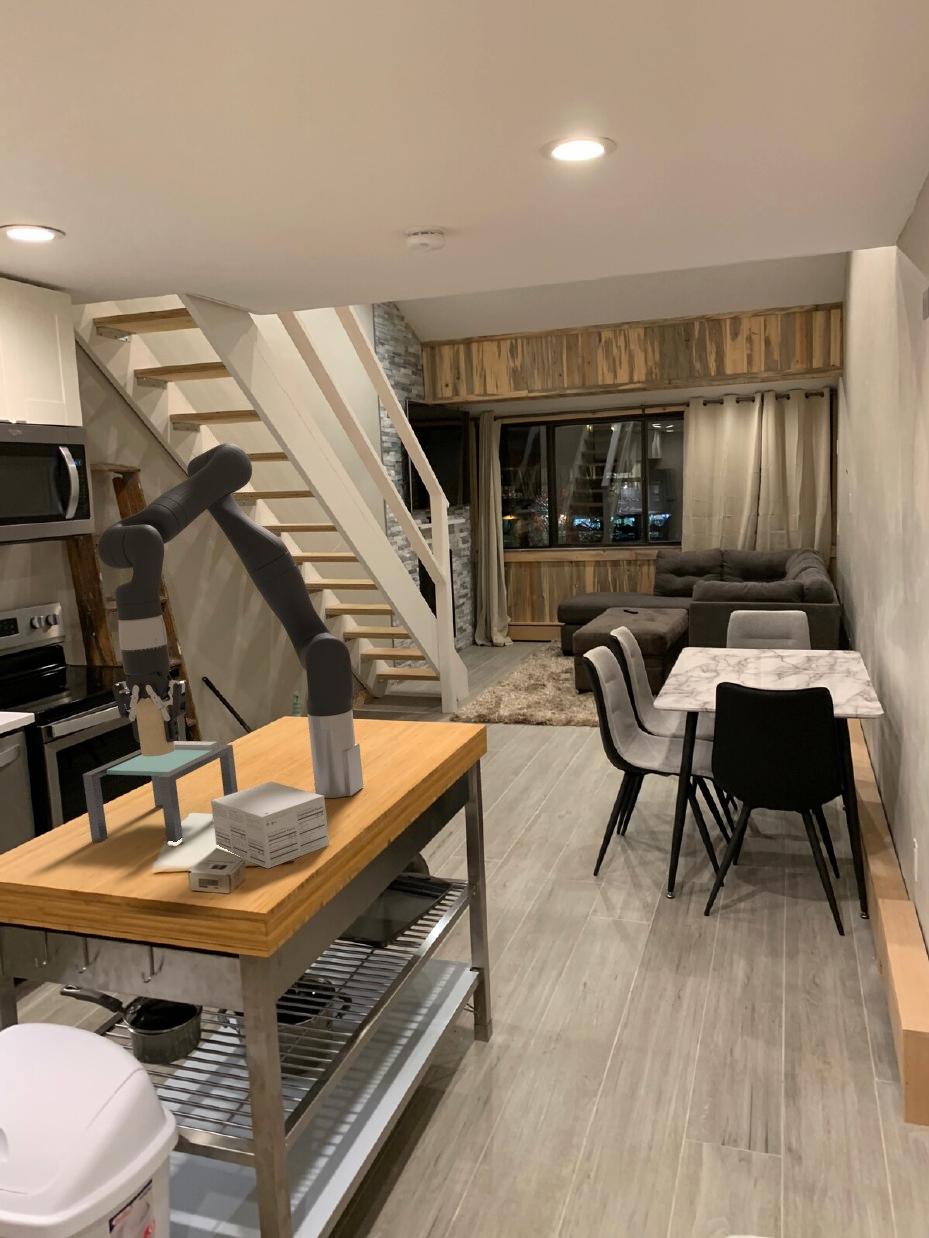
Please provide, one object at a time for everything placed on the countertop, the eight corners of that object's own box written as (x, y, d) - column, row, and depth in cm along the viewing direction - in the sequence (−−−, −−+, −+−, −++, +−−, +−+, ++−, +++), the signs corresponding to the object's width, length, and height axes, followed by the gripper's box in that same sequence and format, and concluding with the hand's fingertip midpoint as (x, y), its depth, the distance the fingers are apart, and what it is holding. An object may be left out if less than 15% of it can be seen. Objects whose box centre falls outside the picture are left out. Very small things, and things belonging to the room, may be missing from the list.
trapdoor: (164, 752, 192) (163, 740, 192) (222, 753, 188) (221, 741, 187) (107, 778, 176) (106, 765, 176) (169, 780, 171) (168, 767, 171)
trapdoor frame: (161, 803, 195) (153, 743, 193) (239, 807, 188) (232, 744, 187) (91, 841, 175) (82, 774, 173) (176, 846, 169) (168, 777, 167)
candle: (179, 746, 162) (171, 690, 160) (170, 755, 156) (162, 697, 155) (147, 749, 162) (139, 693, 160) (137, 758, 156) (129, 700, 155)
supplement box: (331, 845, 164) (326, 794, 163) (268, 870, 155) (262, 816, 153) (277, 826, 176) (271, 779, 175) (215, 848, 167) (209, 798, 165)
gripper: (193, 638, 158) (205, 735, 160) (123, 641, 162) (136, 734, 164) (166, 646, 150) (179, 747, 153) (93, 649, 155) (107, 747, 157)
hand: (157, 740), depth 159 cm, fingers closed on candle, 5 cm apart
